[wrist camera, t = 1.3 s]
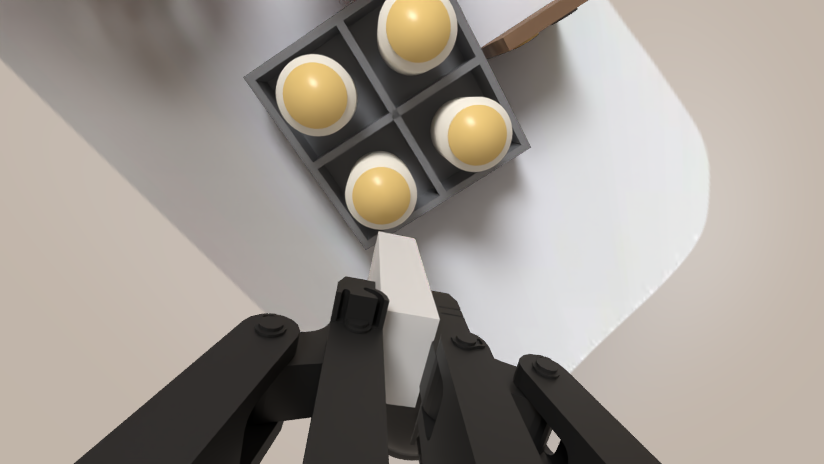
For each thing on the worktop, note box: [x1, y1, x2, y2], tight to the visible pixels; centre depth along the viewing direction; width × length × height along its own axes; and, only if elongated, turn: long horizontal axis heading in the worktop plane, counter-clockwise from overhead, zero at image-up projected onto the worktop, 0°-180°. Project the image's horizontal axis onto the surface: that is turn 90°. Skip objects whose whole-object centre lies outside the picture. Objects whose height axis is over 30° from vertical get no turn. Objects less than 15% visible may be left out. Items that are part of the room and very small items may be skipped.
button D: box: [430, 97, 512, 172], centre depth 30 cm, size 5×5×5 cm
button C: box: [345, 151, 417, 230], centre depth 31 cm, size 5×5×5 cm
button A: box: [276, 54, 358, 136], centre depth 29 cm, size 5×5×5 cm
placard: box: [481, 0, 588, 59], centre depth 32 cm, size 1×7×7 cm, turn 122°
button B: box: [377, 0, 457, 76], centre depth 28 cm, size 5×5×5 cm
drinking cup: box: [386, 391, 423, 464], centre depth 33 cm, size 8×8×20 cm
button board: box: [243, 0, 531, 250], centre depth 34 cm, size 16×16×4 cm
